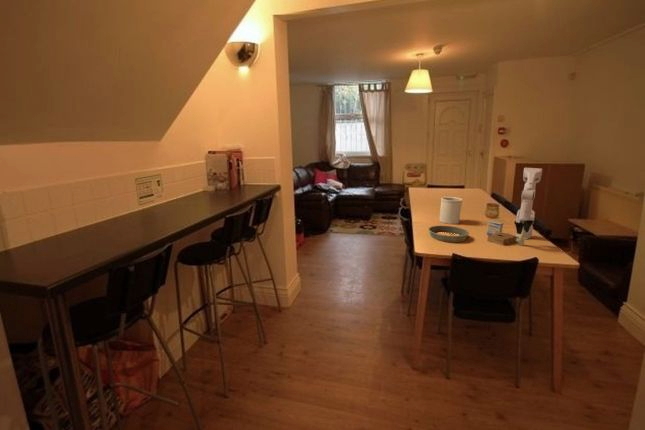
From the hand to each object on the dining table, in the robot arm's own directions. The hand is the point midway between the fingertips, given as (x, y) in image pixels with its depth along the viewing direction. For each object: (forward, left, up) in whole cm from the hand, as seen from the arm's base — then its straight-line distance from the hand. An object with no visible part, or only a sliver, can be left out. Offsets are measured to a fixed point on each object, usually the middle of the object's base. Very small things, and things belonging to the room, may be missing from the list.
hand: (522, 232), depth 207 cm
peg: (0, 0, -8) cm, 8 cm away
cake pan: (+24, -33, -8) cm, 42 cm away
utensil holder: (-8, -57, -8) cm, 58 cm away
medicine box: (-5, -20, -8) cm, 22 cm away
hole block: (+3, -10, -8) cm, 13 cm away
